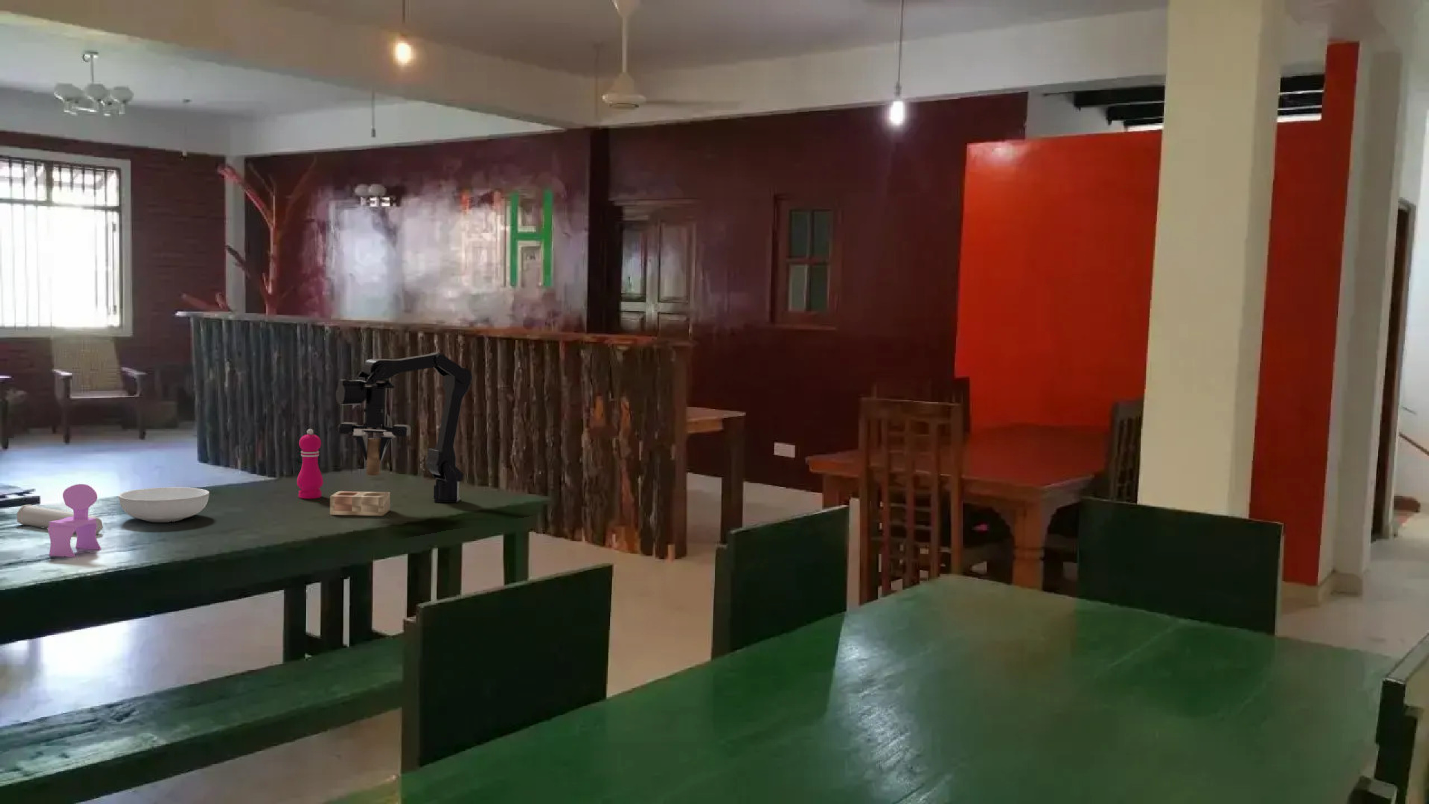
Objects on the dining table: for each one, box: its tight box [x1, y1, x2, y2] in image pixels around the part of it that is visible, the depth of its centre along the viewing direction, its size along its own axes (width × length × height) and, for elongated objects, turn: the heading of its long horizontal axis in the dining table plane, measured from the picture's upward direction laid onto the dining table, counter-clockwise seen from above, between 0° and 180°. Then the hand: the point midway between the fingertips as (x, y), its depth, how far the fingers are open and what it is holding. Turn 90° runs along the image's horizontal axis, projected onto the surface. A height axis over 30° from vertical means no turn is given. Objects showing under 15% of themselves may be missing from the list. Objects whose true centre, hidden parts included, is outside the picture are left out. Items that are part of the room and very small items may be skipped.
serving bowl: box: [118, 486, 210, 523], centre depth 281 cm, size 21×21×7 cm
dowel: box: [366, 437, 381, 476], centre depth 303 cm, size 4×4×10 cm
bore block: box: [329, 490, 391, 517], centre depth 298 cm, size 14×8×5 cm, turn 94°
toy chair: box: [47, 483, 102, 558], centre depth 242 cm, size 8×9×15 cm
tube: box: [16, 504, 104, 535], centre depth 265 cm, size 5×5×25 cm
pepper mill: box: [296, 428, 324, 500], centre depth 318 cm, size 7×7×20 cm
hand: (373, 460), depth 303 cm, fingers closed on dowel, 4 cm apart
